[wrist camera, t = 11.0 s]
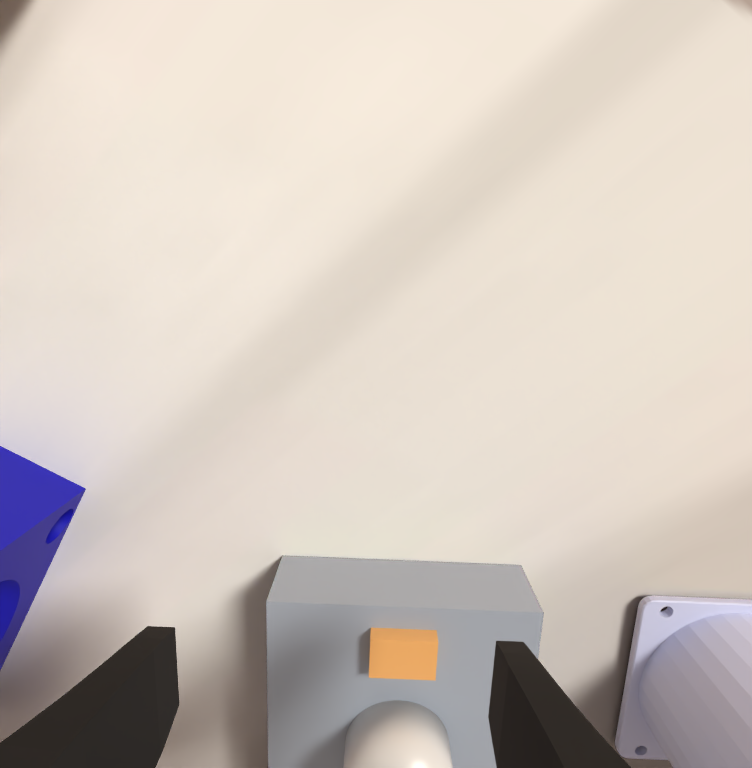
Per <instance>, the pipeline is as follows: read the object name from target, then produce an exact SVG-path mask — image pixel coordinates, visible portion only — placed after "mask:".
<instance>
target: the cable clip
mask: <svg viewBox="0 0 752 768" xmlns="http://www.w3.org/2000/svg"><path fill="white" fill-rule="evenodd" d="M84 492H85V488H83V487H81V486H79V485H77V484H75V483H73V482H71V481H69V480H67V479H65V478H63V477H61V476H59V475H57V474H55V473H53V472H51V471H49V470H47V469H45V468H43V467H41V466H39V465H37V464H35V463H33V462H31V461H29V460H27V459H25V458H23V457H21V456H19V455H17V454H15V453H13V452H11V451H9V450H7V449H5V448H3V447H1V446H0V670H1V668H2V666H3V664H4V662H5V659H6V657H7V655H8V653H9V651H10V649H11V647H12V645H13V642H14V640H15V638H16V636H17V634H18V632H19V630H20V628H21V625H22V623H23V621H24V619H25V617H26V615H27V613H28V611H29V608H30V606H31V604H32V602H33V600H34V598H35V596H36V594H37V591H38V589H39V587H40V585H41V583H42V581H43V579H44V577H45V574H46V572H47V570H48V568H49V566H50V564H51V562H52V560H53V557H54V555H55V553H56V551H57V549H58V547H59V545H60V543H61V540H62V538H63V536H64V534H65V532H66V530H67V528H68V526H69V523H70V521H71V519H72V517H73V515H74V513H75V511H76V509H77V506H78V504H79V502H80V500H81V498H82V496H83V494H84Z"/></svg>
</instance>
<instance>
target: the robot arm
mask: <svg viewBox="0 0 752 768" xmlns="http://www.w3.org/2000/svg"><path fill="white" fill-rule="evenodd" d="M667 606H668V607H667ZM664 607H667V609H666V610H664V611H661V609H662V608H664ZM178 706H179V692H178V675H177V657H176V639H175V627H152V626H148V627H146V628H145V629H144V630H143V631H141V632H140V633H139V634H138V635H136V636H135V637H134V638H133V639H132V640H130V641H129V642H128V643H127V644H126V645H124V646H123V647H122V648H121V649H120V650H118V651H117V652H116V653H115V654H114V655H112V656H111V657H110V658H109V659H108V660H106V661H105V662H104V663H103V664H102V665H100V666H99V667H98V668H97V669H96V670H94V671H93V672H92V673H91V674H89V675H88V676H87V677H86V678H84V679H83V680H82V681H81V682H80V683H78V684H77V685H76V686H75V687H73V688H72V689H71V690H70V691H68V692H67V693H66V694H65V695H63V696H62V697H61V698H60V699H58V700H57V701H56V702H54V703H53V704H52V705H50V706H49V707H48V708H46V709H45V710H44V711H42V712H41V713H40V714H38V715H37V716H36V717H34V718H33V719H32V720H30V721H29V722H28V723H26V724H25V725H24V726H22V727H21V728H20V729H19V730H17V731H16V732H15V733H13V734H12V735H10V736H9V737H8V738H6V739H5V740H3V741H2V742H1V743H0V768H155V767H156V765H157V763H158V760H159V758H160V756H161V754H162V751H163V748H164V746H165V743H166V740H167V738H168V735H169V732H170V729H171V726H172V724H173V721H174V718H175V715H176V712H177V709H178ZM488 719H489V725H490V731H491V737H492V744H493V749H494V755H495V761H496V766H497V768H631V767H630V766H629V765H628V764H627V763H626V762H625V761H624V760H623V759H622V758H621V757H620V756H622V757H624V758H629V759H653V760H669V762H670V763H671V765H672V767H673V768H752V600H750V599H726V598H701V597H677V596H647V597H645V598H643V599H642V600H641V601H640V603H639V605H638V610H637V616H636V622H635V628H634V634H633V639H632V645H631V651H630V657H629V663H628V669H627V675H626V680H625V686H624V692H623V698H622V704H621V710H620V715H619V721H618V727H617V733H616V739H615V747H616V749H617V751H618V753H619V754H620V755H619V754H618V753H617V752H616V751H615V750H614V749H613V748H612V747H611V746H610V745H609V744H608V743H607V741H606V740H605V739H604V738H603V737H602V736H601V735H600V734H599V733H598V731H597V730H596V729H595V728H594V727H593V726H592V725H591V723H590V722H589V721H588V720H587V719H586V718H585V716H584V715H583V714H582V713H581V712H580V711H579V709H578V708H577V707H576V706H575V705H574V704H573V702H572V701H571V700H570V699H569V698H568V696H567V695H566V694H565V693H564V692H563V690H562V689H561V688H560V687H559V685H558V684H557V683H556V682H555V680H554V679H553V678H552V677H551V675H550V674H549V673H548V672H547V670H546V669H545V668H544V667H543V665H542V664H541V663H540V662H539V660H538V659H537V658H536V656H535V655H534V654H533V653H532V651H531V650H530V649H529V648H528V646H527V645H526V644H525V643H524V642H518V641H496V647H495V656H494V666H493V676H492V685H491V695H490V705H489V714H488ZM638 746H639V747H638Z"/></svg>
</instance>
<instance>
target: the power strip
mask: <svg viewBox="0 0 752 768" xmlns="http://www.w3.org/2000/svg"><path fill="white" fill-rule="evenodd" d="M543 615H544V612H543V610H542V608H541V606H540V604H539V602H538V600H537V598H536V595H535V593H534V591H533V589H532V587H531V585H530V583H529V581H528V579H527V577H526V575H525V572H524V570H523V568H522V566H521V565H502V564H477V563H452V562H428V561H403V560H378V559H353V558H329V557H304V556H282V558H281V561H280V564H279V567H278V570H277V572H276V575H275V578H274V581H273V584H272V587H271V589H270V592H269V595H268V598H267V601H266V624H267V713H268V768H497V766H496V761H495V755H494V749H493V744H492V737H491V731H490V725H489V719H488V714H489V705H490V695H491V685H492V676H493V666H494V656H495V647H496V641H518V642H524V643H525V644H526V645H527V646H528V648H529V649H530V650H531V651H532V653H533V654H534V655H535V656H536V658H537V659H538V655H539V647H540V639H541V631H542V623H543Z"/></svg>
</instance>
